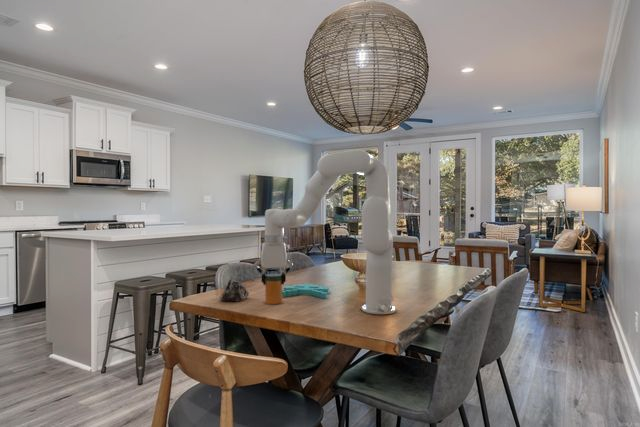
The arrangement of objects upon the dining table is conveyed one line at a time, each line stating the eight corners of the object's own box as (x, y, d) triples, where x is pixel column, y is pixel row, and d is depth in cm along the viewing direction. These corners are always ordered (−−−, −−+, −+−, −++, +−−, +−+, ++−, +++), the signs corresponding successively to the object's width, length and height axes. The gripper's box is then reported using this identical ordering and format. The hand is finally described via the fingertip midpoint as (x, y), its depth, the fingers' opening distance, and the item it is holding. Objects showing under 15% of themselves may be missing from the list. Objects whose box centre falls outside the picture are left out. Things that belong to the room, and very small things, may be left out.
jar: (283, 303, 163) (283, 277, 163) (266, 304, 161) (266, 278, 161) (280, 300, 169) (280, 274, 169) (264, 301, 167) (264, 275, 167)
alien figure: (326, 298, 173) (329, 289, 193) (326, 293, 173) (330, 284, 193) (279, 297, 175) (287, 288, 195) (279, 291, 175) (288, 283, 195)
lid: (281, 277, 169) (281, 273, 169) (283, 280, 162) (283, 276, 162) (264, 278, 168) (264, 274, 168) (265, 281, 161) (265, 276, 161)
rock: (239, 308, 161) (252, 285, 166) (218, 296, 161) (231, 274, 166) (238, 313, 173) (250, 292, 177) (218, 302, 173) (230, 282, 177)
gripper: (294, 239, 170) (293, 282, 170) (252, 239, 167) (251, 282, 167) (296, 240, 163) (296, 285, 163) (252, 240, 159) (251, 286, 160)
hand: (273, 283), depth 165 cm, fingers closed on lid, 6 cm apart
